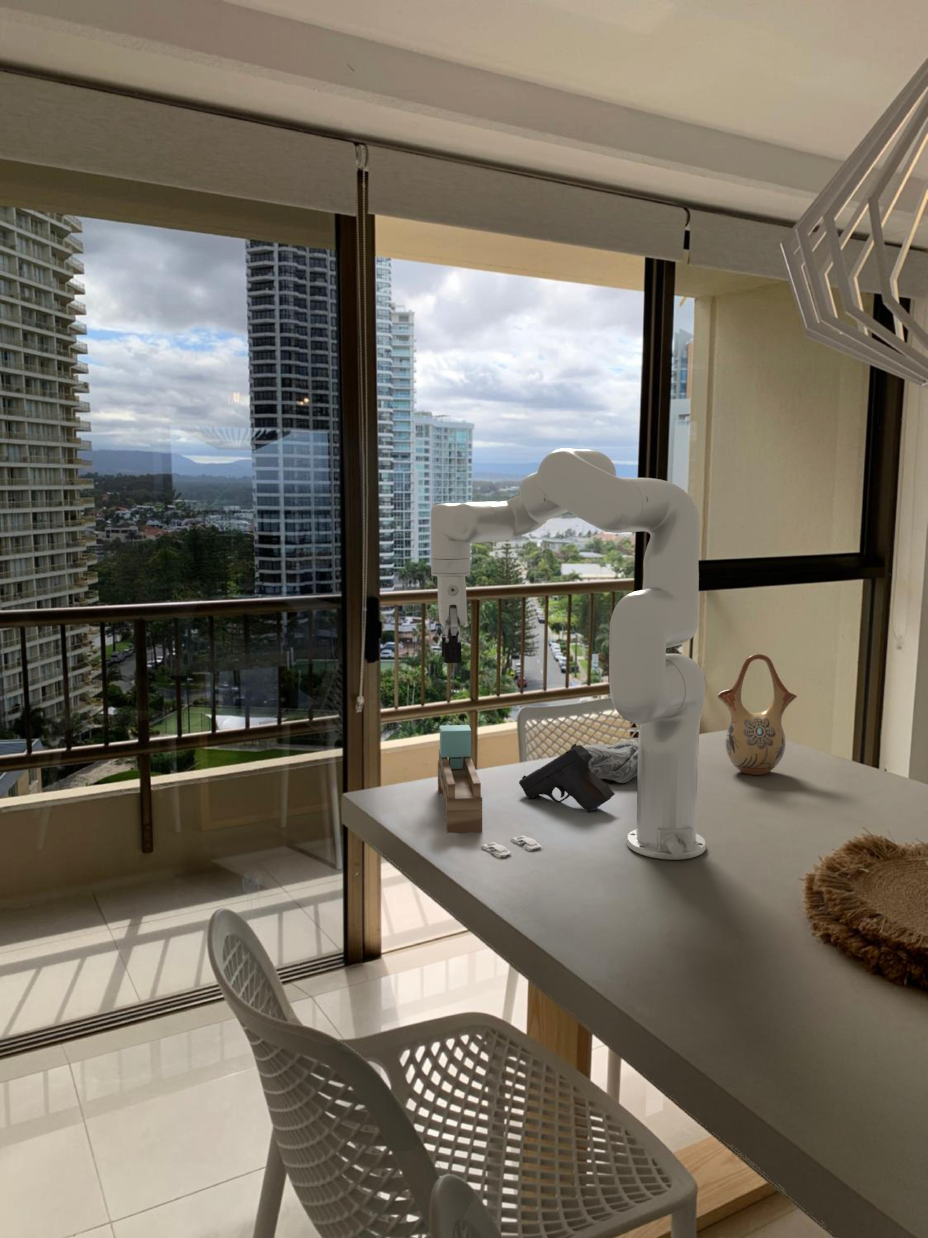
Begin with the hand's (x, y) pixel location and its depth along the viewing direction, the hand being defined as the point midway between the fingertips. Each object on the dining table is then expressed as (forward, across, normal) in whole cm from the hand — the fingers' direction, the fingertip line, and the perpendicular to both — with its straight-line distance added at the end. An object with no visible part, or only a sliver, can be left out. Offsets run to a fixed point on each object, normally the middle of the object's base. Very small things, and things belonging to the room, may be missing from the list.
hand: (451, 659), depth 179 cm
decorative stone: (+26, +3, -33) cm, 42 cm away
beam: (+26, -14, 0) cm, 29 cm away
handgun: (+26, -13, -20) cm, 35 cm away
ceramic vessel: (+26, +2, -63) cm, 68 cm away
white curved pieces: (+26, -34, -7) cm, 44 cm away
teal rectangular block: (+19, -8, 0) cm, 21 cm away
